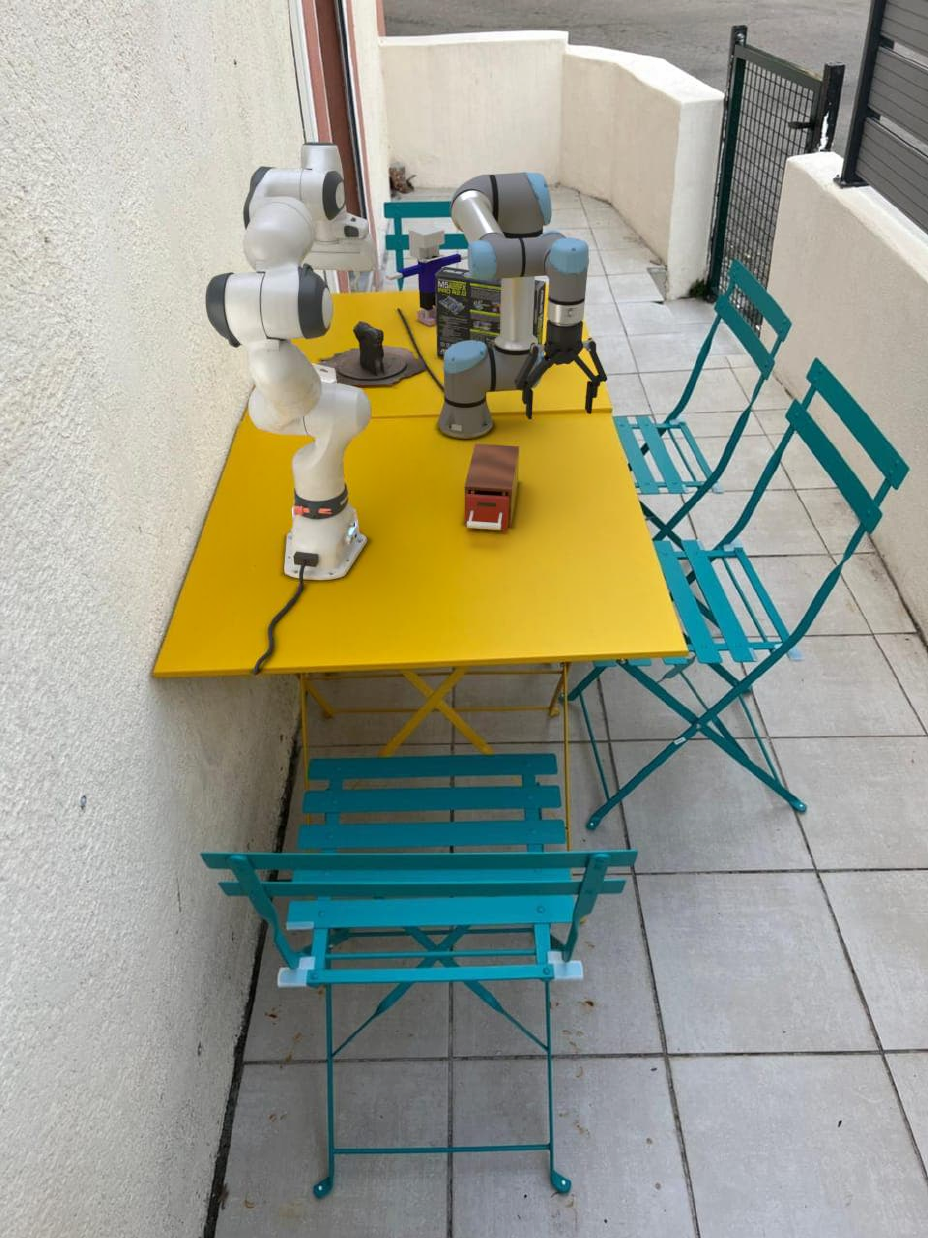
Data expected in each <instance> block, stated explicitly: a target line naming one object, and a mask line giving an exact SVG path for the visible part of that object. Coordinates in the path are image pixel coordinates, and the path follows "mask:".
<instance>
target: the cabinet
mask: <svg viewBox="0 0 928 1238" xmlns="http://www.w3.org/2000/svg"><path fill="white" fill-rule="evenodd" d="M519 466H520V446H519V445H505V444H504V445H503V444H487V443H486V444H485V443H474V447H473V450H472V455H471V458H470V463H469V466H468V471H467V475H466V479H465V482H464V525H466V494H471V490H480V491H495V492H508V497H509V502H508V528H512V522H513V516H514V511H515V504H516V498H517V492H518V485H519V469H520V467H519Z"/></svg>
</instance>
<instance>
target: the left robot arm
mask: <svg viewBox="0 0 928 1238" xmlns="http://www.w3.org/2000/svg"><path fill="white" fill-rule="evenodd" d="M345 182H346V181H345V179H344V169H343V164H342V159H341V154H340V150H339V147H338V145H336V144H335V143H333V142H326V141H324V142H323V141H307V142H304V143H303V144H301V146H300V168H295V167H294V168H292V167H291V168H289V167H286V168H283V167H274V166H273V167H272V166H264V165H261V166H260V167H258V168H257V169H256V170H255V171H254V172H253V174H252V175H251V177H250V181H249V190H248V192H247V195H246V198H245V201H244V204H243V209H242V220H243V225H244V230H245V232H244V236H243V239H242V248H243V254H244V257H245V259H246V261H247V263H248V264H249V265H250V267H251V268H252V269H253V270H254V271H251V272H250V271H249V272H240V273H234V272H233V271H230V272H225V273H224V272H223V273H219V274H217V275H214V276H213V277H212V278H211V279H210V281H209V282H208V284H207V286H206V290H205V300H204V301H205V302H204V303H205V310H206V316H207V319H208V321H209V324H210V325H211V326H212V327H213V329H214V330H215V331H216V332H217V333H218V334H219V336H221V337H222V338H224V339H226V340H228V343H229V346H231V347H232V348H235V349H237V348H239V347H240V346H243V347H244V348H245V350H246V352H247V361H246V362H247V368H248V372H249V375H250V376H251V377H250V378H251V380H252V382H253V384H254V386H255V387H254V388H253V389H252V392H251V393H250V395H249V398H248V404H247V408H248V409H247V411H248V415H249V417H250V420H251V422H252V424H253V425H254V426H255V427H256V429H258V430H259V431H262V432H266V433H271V434H276V435H279V436H280V435H281V436H300V437H301V436H302V437H312V438H314V440H312V441H311V442H309V443H306V444H305V445H303V446H301V447H300V448H299V449H298V450H297V451H295V453H294V455H293V457H292V460H291V471H292V477H293V483H294V489H293V504H294V505H293V506H292V508H291V513H292V523H291V524H292V526H291V527H290V530H289V532H288V533H287V535H286V543H285V555H284V574H285V575H287V576H289V577H292V578H295V579H298V580H299V581H298V582H299V585H298V588H297V591H296V593H295V594H294V595H293V597H292V598H291V599H290V600H289V601H288V602H287V603H286V605H285V606H284V607H282V609H281V610H279V611H278V612H277V613H276V615H275V616H274V617H273V618H272V619H271V621H270V623H269V625H268V627H267V637H268V648H267V651H266V652H265V653H264V654H263V655H261V656H260V657H259V658H258V660H257V661H256V663H255V664H254V668H253V672H252V675H253V676H257V675H258V673H259V669H260V666H261V665H262V663H263V662H264V661H265V660H267V658H268V657H269V656H270V655H271V654H272V652H273V650H274V647H275V643H274V642H275V641H274V635H273V629H274V626H275V625H276V623H277V622H278V621H279V619H280V618H281V617H282V616H283V615H284V614H286V613H287V611H288V610H289V609H290V608H291V607H292V605H293V604H294V603H295V602H296V601H297V600H298V599H299V597H300V595H301V593H302V592H303V588H304V584H305V583H304V582H305V581H304V580H310V581H330V580H337V579H340V578H343V577H345V576H346V575H347V573H348V572H349V571H350V569H351V567H352V566H353V564H354V563H355V561H356V559H357V558H358V557H359V556H360V553H361V552H362V551H363V549H364V548H365V546H366V544H367V542H368V539H367V536H366V535H365V534H363V533H361V532H360V527H359V520H358V514H357V510H356V508H354V506H352V505H351V503H350V502H349V489H348V486H347V483H346V482H345V472H344V470H345V469H344V466H345V465H344V463H345V462H344V461H345V460H344V459H345V454H346V451H347V449H348V447H349V445H350V444H351V442H352V441H353V440H354V439H356V438H357V437H358V436H360V435H361V434H362V433H364V432H365V430H366V429H367V428H368V427H369V424H370V422H371V418H372V404H371V403H372V402H371V400H370V398H369V397H368V395H367V393H366V391H364V389H363V388H361V387H357V386H355V385H346V384H341V383H322V382H321V379H320V376H319V374H318V373H317V371H316V370H315V368H314V367H313V365H312V362H311V361H310V359H309V358H308V357H307V356H306V354H305V353H304V351H303V350H301V348H299V347H298V346H297V345H296V344H295V343H293V342H292V340H296V339H305V340H313V339H317V338H321V337H324V336H326V334H327V333H328V331H329V330H330V328H331V326H332V325H331V324H332V321H333V316H334V301H333V297H332V295H331V291H330V287H329V286H328V284H327V283H326V281H325V280H324V279H323V278H322V277H321V276H320V275H319V274H318V273H316V272H315V271H348V272H350V271H351V272H353V276H355V278H354V279H352V280H350V281H349V290H350V291H358V289H359V282H358V281H359V279H360V277H361V275H362V273H363V272H372V271H373V270H374V269H375V268H376V267H377V263H378V258H377V257H378V256H377V250H376V245H375V241H374V238H373V236H372V234H371V233H369V229H370V222H369V221H368V220H367V219H366V218H363V217H360V216H357V215H354V214H352V213H349V212H348V211H347V205H346V202H347V195H346V194H347V192H346V183H345Z"/></svg>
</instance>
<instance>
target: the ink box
mask: <svg viewBox="0 0 928 1238" xmlns="http://www.w3.org/2000/svg"><path fill="white" fill-rule="evenodd" d="M311 364H312V365H313V367H314V368H315V370H316V371H317V373H318V374H319V376H320V379H321V382H322V383H337V379H336V372H335V369H334V368H330V367H326V366H322V365H317V363H312V362H311ZM319 369H324V370H327V371H328V373H327V372H323V371H320V370H319Z"/></svg>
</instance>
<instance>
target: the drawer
mask: <svg viewBox="0 0 928 1238" xmlns="http://www.w3.org/2000/svg"><path fill="white" fill-rule="evenodd" d="M508 502H509V497H508V492H495V491H480V490H471V494H466V524H465V528H466V529H479V530H493V531H508V528H509V527H508Z"/></svg>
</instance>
